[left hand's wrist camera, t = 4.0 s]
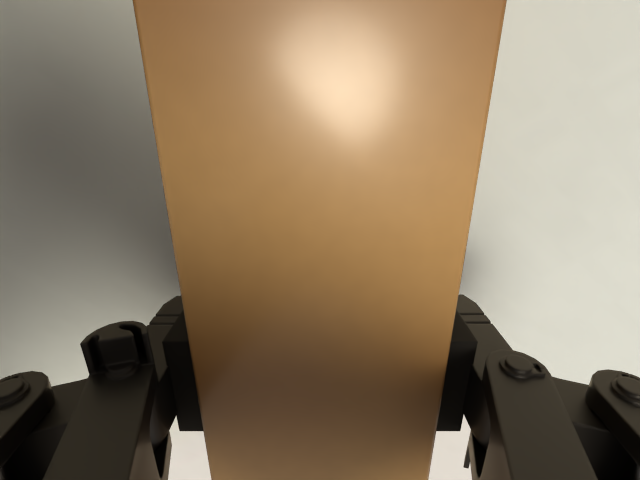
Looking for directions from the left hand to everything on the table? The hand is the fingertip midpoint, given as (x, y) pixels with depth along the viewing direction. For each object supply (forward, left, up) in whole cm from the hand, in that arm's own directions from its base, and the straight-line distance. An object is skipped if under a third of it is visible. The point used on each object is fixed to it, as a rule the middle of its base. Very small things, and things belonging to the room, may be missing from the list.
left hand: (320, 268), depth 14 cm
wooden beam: (-3, +24, -1) cm, 25 cm away
